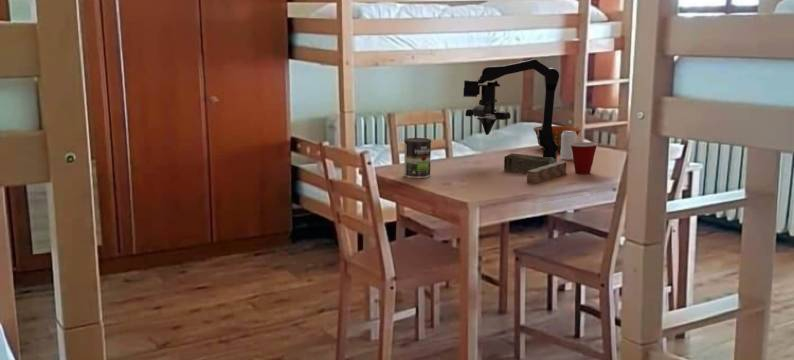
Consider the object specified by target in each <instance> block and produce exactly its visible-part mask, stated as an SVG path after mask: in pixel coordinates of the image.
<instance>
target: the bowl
mask: <svg viewBox="0 0 794 360" xmlns="http://www.w3.org/2000/svg"><path fill="white" fill-rule="evenodd" d="M538 128H541V126H534V127H533V131H534V132H535V135H536V136H537V135H538ZM565 130H572V131H576V134H577V136H578V135H579V134H580V132H581V131H582V130H581V129H580V128H578V127H574V126H568V125H567V126H566V125H552V131H553V140H554V142H555V143H556V144H557V145H558V150H557V151H561V137H562V133H563V131H565ZM537 144H538V146H540V147H542V148H544V147H543V146H541V144H540V143H539V140H538V139H537Z"/></svg>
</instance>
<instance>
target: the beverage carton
mask: <svg viewBox="0 0 794 360" xmlns="http://www.w3.org/2000/svg"><path fill="white" fill-rule="evenodd" d="M503 159H504V163H503V164H504V165H503V171H505V172H514V173H522V174H527V171H529V170H533V169H536V168H539V167H542V166H545V165H549V164H552V163H555V161H556V159H555V158H552V157H543V156H538V155H530V154H529V155H528V154H521V153H512V152H511V153H510V154H508V155H505V156H504V158H503Z"/></svg>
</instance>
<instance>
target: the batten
mask: <svg viewBox="0 0 794 360" xmlns="http://www.w3.org/2000/svg"><path fill="white" fill-rule="evenodd" d="M564 174H567V161H564V160H563V161H562V160H559V161H558V160H557V162H555V163H552V164H549V165H545V166H542V167H539V168H536V169H533V170H529V171H527V173H526V184H530V185H535V184H538V183H542V182H545V181H547V180H549V179H553V178H556V177H558V176H562V175H564Z"/></svg>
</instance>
